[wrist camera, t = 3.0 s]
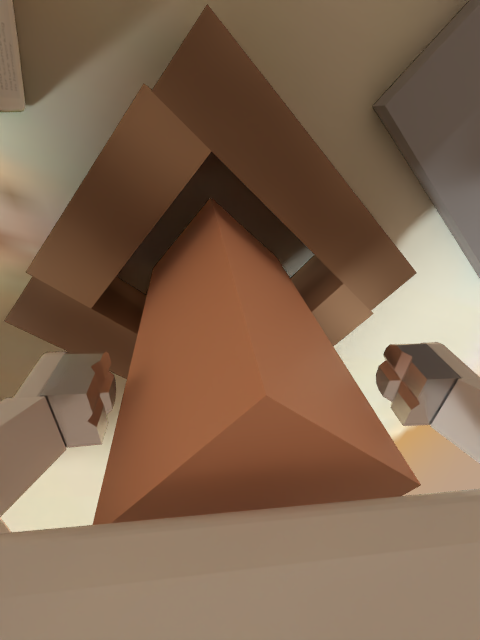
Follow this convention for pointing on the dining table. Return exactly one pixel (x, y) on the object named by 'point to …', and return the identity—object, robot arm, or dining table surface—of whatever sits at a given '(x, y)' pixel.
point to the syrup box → (10, 62)
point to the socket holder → (168, 181)
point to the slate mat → (444, 125)
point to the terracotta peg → (238, 393)
